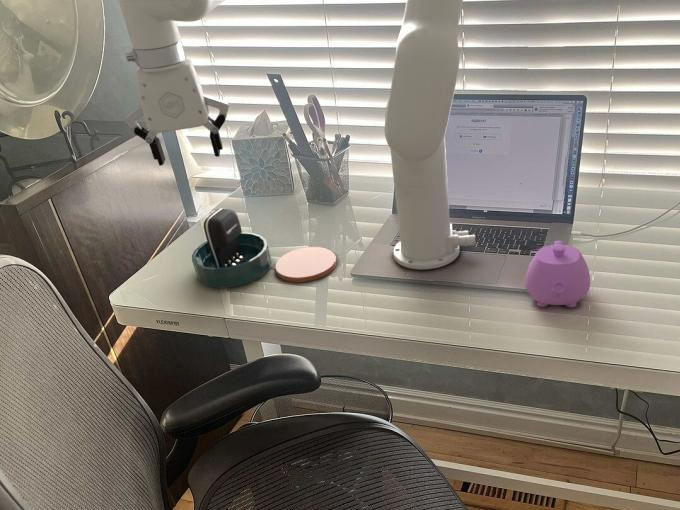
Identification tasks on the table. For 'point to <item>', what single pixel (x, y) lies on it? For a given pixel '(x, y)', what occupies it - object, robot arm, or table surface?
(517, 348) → the table surface
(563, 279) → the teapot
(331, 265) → the plate
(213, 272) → the bowl
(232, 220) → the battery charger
